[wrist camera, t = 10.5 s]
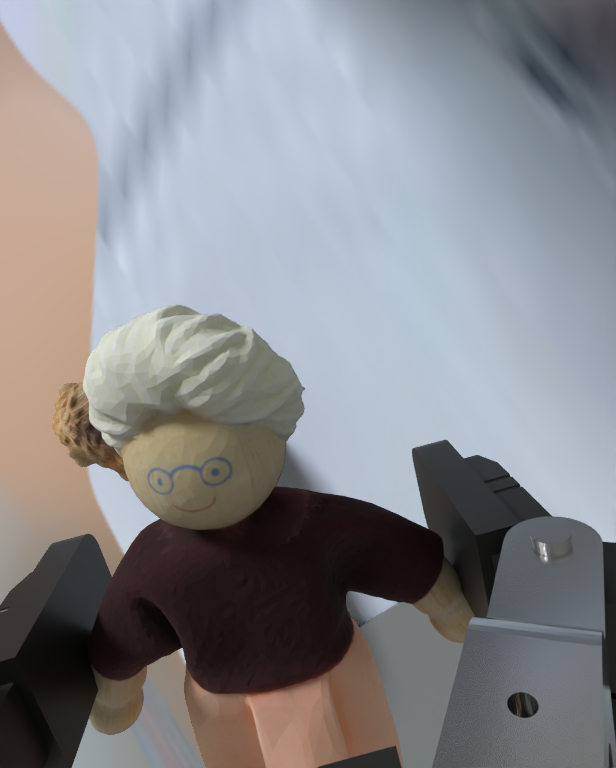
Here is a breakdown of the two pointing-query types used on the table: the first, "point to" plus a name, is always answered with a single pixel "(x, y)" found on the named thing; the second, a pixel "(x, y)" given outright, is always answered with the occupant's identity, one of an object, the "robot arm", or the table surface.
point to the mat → (413, 677)
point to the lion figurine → (82, 431)
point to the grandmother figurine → (244, 554)
